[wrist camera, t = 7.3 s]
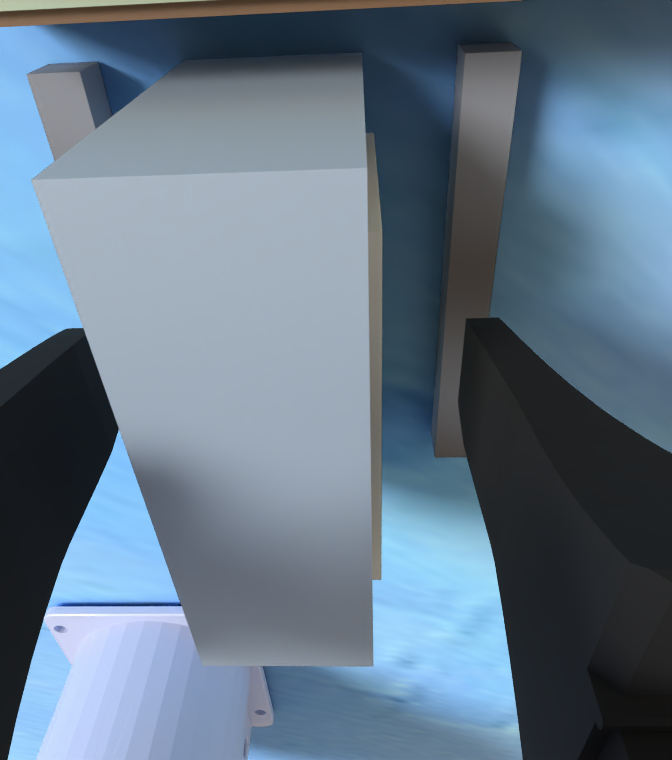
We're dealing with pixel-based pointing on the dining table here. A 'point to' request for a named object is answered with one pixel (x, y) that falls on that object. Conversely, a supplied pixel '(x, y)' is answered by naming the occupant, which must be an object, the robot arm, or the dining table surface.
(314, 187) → the grey rectangular block
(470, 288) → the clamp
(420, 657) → the dining table surface
